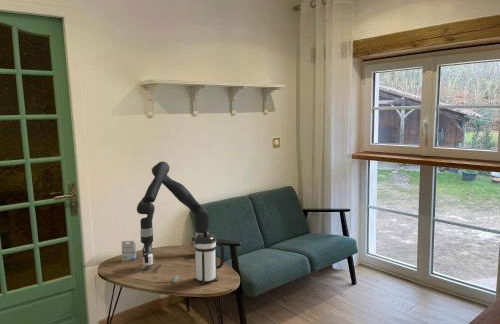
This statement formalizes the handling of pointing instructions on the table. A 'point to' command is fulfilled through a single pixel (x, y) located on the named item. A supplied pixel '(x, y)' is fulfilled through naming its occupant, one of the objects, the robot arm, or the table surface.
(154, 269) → the post base
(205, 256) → the coffee press
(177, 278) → the sage mat
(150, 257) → the cap
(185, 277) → the table surface
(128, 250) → the ink box
